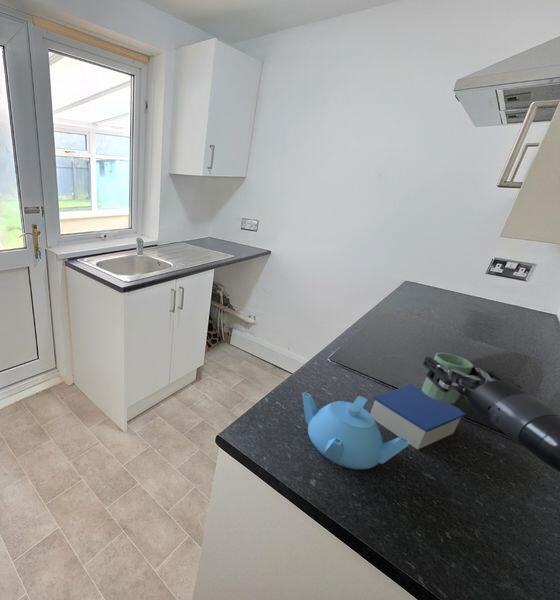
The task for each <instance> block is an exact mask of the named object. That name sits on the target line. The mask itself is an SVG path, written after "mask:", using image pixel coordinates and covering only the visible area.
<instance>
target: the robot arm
mask: <svg viewBox="0 0 560 600" xmlns="http://www.w3.org/2000/svg"><path fill="white" fill-rule="evenodd" d="M422 365H423V366H424V367H425V368H426V369H427V370H428V371H427V373H426V374H425V377H426V376H427V377H428V378H429V379H430V380H431V381H432V382H433V383H434V384H435V385H436V386H437V387H438V388H439V389H440V390H441V391H443V392H448V391H449V389H452V390H457V391H458V392H459V393H460V395H463V396H465V397H467V399H468V402H469V403H470V406H471V408H472V409H473V411H474V412H476V413H478V414H479V415H480V416H481V417H482V418H484V419H485V420H486V421H488V422H489V423H490V424H492V425H493V426H494V427H495V428H496V429H498V430H499V431H501V432H502V433H503V434H505V436H507V437H509V438H510V439H511V440H513V441H515V442H516V443H518V444H519V445H521V446H523V447H524V448H525V449H526V450H528V451H529V452H530V453H532V455H535V457H537V458H538V459H539V460H540V461H542V462H543V463H545V464H546V465H547V466H549V467H550V468H552V469H554V470H555V471H557V472H558V473H560V413H559V412H558V411H556V410H555V409H554V408H552V407H551V406H550V405H548V404H547V403H545V402H543V401H541V400H540V399H538V398H536V397H535V396H533V395H531V394H530V393H529V392H526V390H523V387H522V386H520V385H519V384H517V383H515V382H513V381H511V380H509V379H508V378H506V377H504V376H502V375H500V374H498V373H497V372H495V371H493V370H487V371H485V370H483V369H481V368H479V367H474V366H473V368H472V370H471V372H470V374H469V375H467V374H465V373H463V372H461V371H458V370H456V369H452V370H450V369H448V368H446V367H444V366H442V365H441V364H440V363H438V362H437V361H435V360H434V357H433V358H432V357H431V356H425V357H424V359H423V362H422ZM443 371H444V372H446V373H448V375H447V376H446V375H445V374H444V373H443ZM455 375H458V377H457V380H456V382H455V383H454V382H453V379H454V377H455Z"/></svg>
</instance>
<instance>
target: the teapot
mask: <svg viewBox="0 0 560 600" xmlns="http://www.w3.org/2000/svg"><path fill="white" fill-rule="evenodd" d="M301 397H302V405H303V411H304V412H303V413H304V418H305V423H306V424H307V433H308V437H309V439H310V441H311V442H312V445H313V446H314V447H315V448H316V450H317V451H318V452H319V453H320V454H321V455H322V456H323V457H324V458H325V459H327V460H328V461H330V462H331V463H334V464H335V465H338V466H339V467H342V468H346V469H350V470H368V469H371V468H374V467H376V466H377V465H378V464H381V465H383V464H385V463H386V462H387V461H389V460H390V459H392V458H393V457H394V456H396V455H397V454H399V453H400V452H402V451H403V450H404V449H406V448H407V447H408V446H409V445H410V444H409V440H407V439H405V438H403V437H401V436H400V437H398V436H397V437H396V438H394V439H390V440H388V441H386V442H384V441H383V438H382V434H381V431H380V429H379V426H378V424H377V421H375V420H374V418H373V417H372V415H371V414H370V413H371V412H369V411H368V410H367V406H368V403H369V402H368V401H369V399H367V398H365V397H364V396H361V395H358V396H357V397H356V398H355V400H354V401H353V402H350V401H345V400H337V401H336V400H335V401H333V402H330V403H328V404H326V405H324V406H323V407H321V408H319V409H318V407H317V405H316V403H315V401H314V399H313V397H312V394H310V393H308V392H306V391H303V393H302V394H301Z"/></svg>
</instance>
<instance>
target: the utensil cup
mask: <svg viewBox="0 0 560 600" xmlns="http://www.w3.org/2000/svg"><path fill="white" fill-rule="evenodd" d="M433 359H434V360H435V361H437V362H438V363H440V364H441V365H442V366H444V367H446V368H448V369H450V370H452V369H456V370H458V371H461V372H463V373H465V374H467V375H469V374H470V372H471V370H472V368H473V367H474V364H473V363H472V362H471V361H469V360H468V359H466V358H465V357H461V356H460V355H456V354H453V353H450V352H449V353H448V352H439V351H438V352H436V353H435V355H434V357H433ZM443 373H444V374H445V375H446V376H447V375H448V373H446V372H444V371H443ZM457 377H458V375H455V377H454V379H453V382H454V383H455V382H456V380H457ZM421 389H422V391H423V392H424V393H425V394H426V395H427V396H429V397H431V398H433V399H435V400H437V401H440V402H444V403H449V404H451V405H453V404H455V403H457V401H458V400H459V398H460V395H461V393H459V392H458V391H457V390H452V389H449V391H448V392H443V391H441V390H440V389H439V388H438V387H437V386H436V385H435V384H434V383H433V382H432V381H431V380H430V379H429V378H428V377H427V376H426V375H425V379H424V382H423V384H422V386H421Z"/></svg>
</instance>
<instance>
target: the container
mask: <svg viewBox="0 0 560 600" xmlns="http://www.w3.org/2000/svg"><path fill="white" fill-rule="evenodd" d="M373 400H374V401H373V405H372V407H371V410H370V412H369V413H370V414H371V415H372V417H373V418H374V420H375V422H376V423H378V424H379V425H381V426H383V427H384V428H385V429H387V430H388V431H389V432H392V434H393V435H395V436H397V438H398V437H400V436H401V437H403V438H405V439H407V440H409V445H410V446H412V447H413V448H414V449H415V450H420V449H422V448H424V447H427V446H429V445H431V444H434V443H436V442H438V441H440V440H442V439H444V438H447V437H449V436H451V435H454V433H455V431H456V429H457V427H458V425H459V422H460V421H461V419H462V418H463V417H465V416H466V413H465V412H463V411H462V408H459V407H457V406H455V405H453V404H450V403H444V402H440V401H437V400H435V399H433V398H431V397H429V396H427V395H426V394H425V393H424V392H423V391H422V387H416V386H414V385H413V384H408V385H405V386H402V387H399V388H396V389H393V390H389V391H387V392H383V393H379V394H377V395H374V396H373Z"/></svg>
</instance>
